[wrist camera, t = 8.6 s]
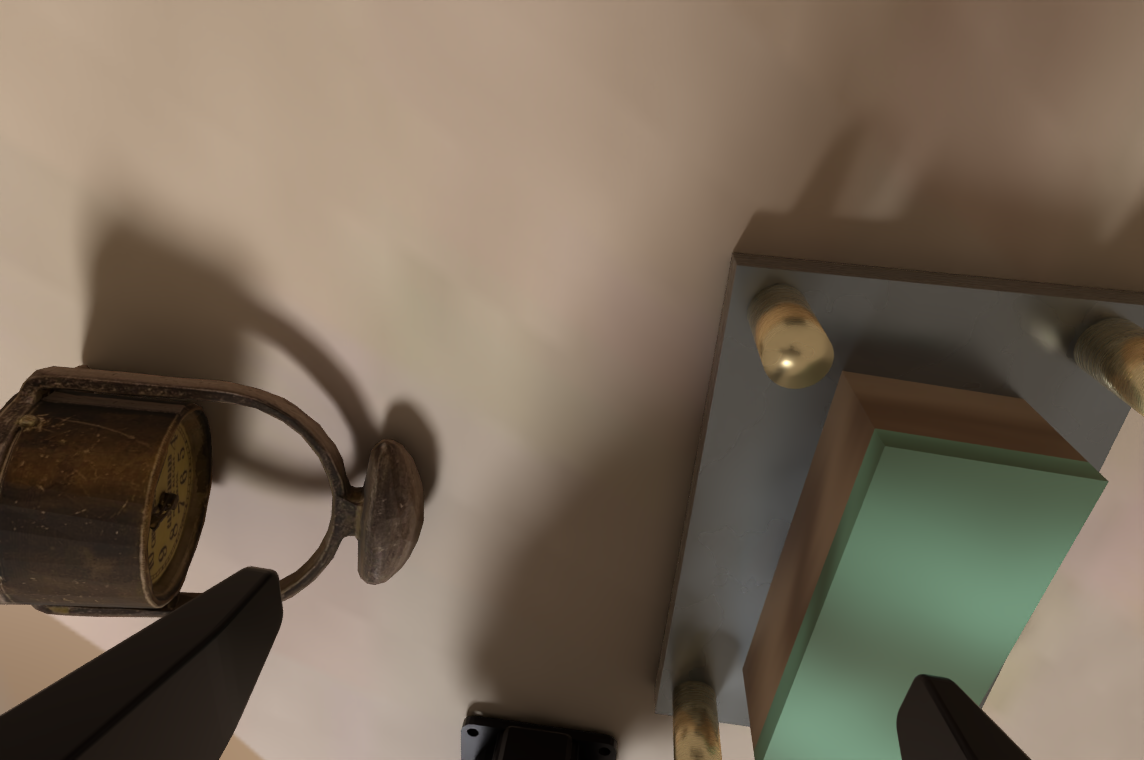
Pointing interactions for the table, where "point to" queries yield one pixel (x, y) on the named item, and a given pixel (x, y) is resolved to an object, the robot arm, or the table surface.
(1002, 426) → the board block
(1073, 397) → the plate
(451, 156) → the table surface
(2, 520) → the bronze antique clock
